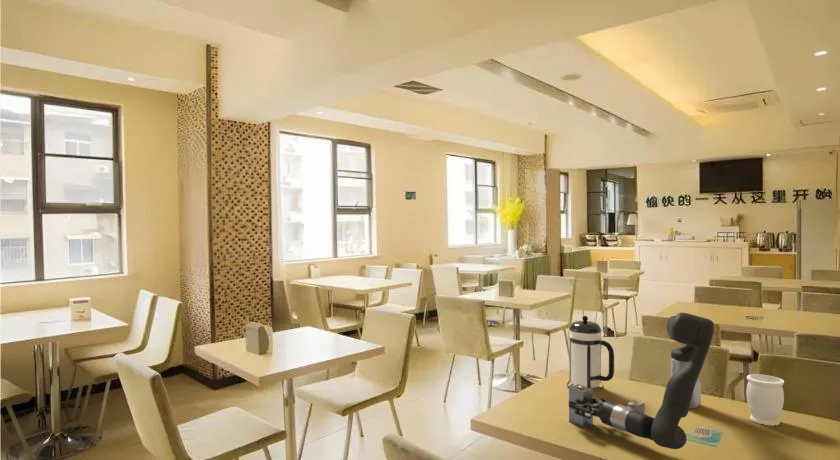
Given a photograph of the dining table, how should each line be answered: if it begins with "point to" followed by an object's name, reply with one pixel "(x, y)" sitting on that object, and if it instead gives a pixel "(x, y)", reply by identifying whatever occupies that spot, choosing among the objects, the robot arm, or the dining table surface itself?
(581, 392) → the block
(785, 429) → the dining table surface
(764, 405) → the jar
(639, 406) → the dock
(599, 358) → the coffee press
